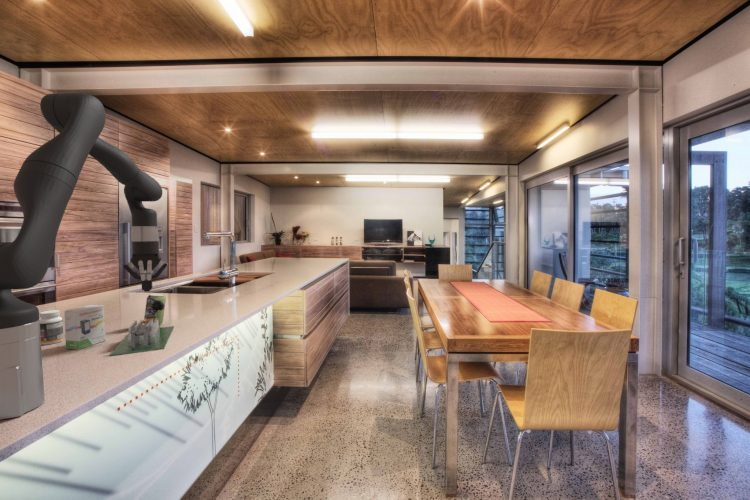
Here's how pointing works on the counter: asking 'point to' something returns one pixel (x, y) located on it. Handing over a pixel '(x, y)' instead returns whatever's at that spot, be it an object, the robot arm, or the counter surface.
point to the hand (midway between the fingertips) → (147, 291)
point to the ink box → (84, 326)
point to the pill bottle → (51, 327)
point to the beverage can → (156, 306)
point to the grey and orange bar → (144, 326)
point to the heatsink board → (144, 337)
